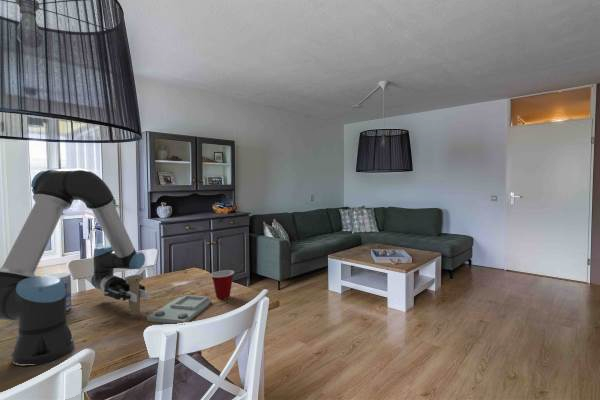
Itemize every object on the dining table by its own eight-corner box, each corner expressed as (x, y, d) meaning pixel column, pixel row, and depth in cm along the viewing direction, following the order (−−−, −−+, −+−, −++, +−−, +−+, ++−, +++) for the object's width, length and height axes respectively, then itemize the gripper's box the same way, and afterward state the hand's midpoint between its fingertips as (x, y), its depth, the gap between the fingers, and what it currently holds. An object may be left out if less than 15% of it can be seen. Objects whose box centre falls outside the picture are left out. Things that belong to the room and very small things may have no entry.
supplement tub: (61, 315, 127) (59, 279, 126) (36, 315, 127) (35, 279, 126) (77, 305, 137) (76, 272, 136) (54, 305, 137) (53, 272, 136)
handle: (145, 312, 127) (145, 276, 126) (129, 318, 122) (128, 279, 121) (140, 309, 130) (139, 273, 129) (123, 314, 125) (122, 277, 124)
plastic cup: (217, 292, 154) (217, 268, 153) (238, 294, 152) (237, 270, 151) (206, 301, 143) (205, 275, 143) (228, 303, 141) (228, 276, 140)
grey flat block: (184, 324, 119) (184, 317, 119) (146, 320, 123) (146, 313, 122) (211, 302, 141) (211, 296, 141) (179, 300, 144) (179, 294, 144)
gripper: (133, 288, 143) (161, 300, 129) (92, 299, 130) (119, 313, 116) (133, 272, 143) (161, 282, 129) (92, 281, 129) (118, 293, 115)
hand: (141, 296), depth 122 cm, fingers closed on handle, 3 cm apart
